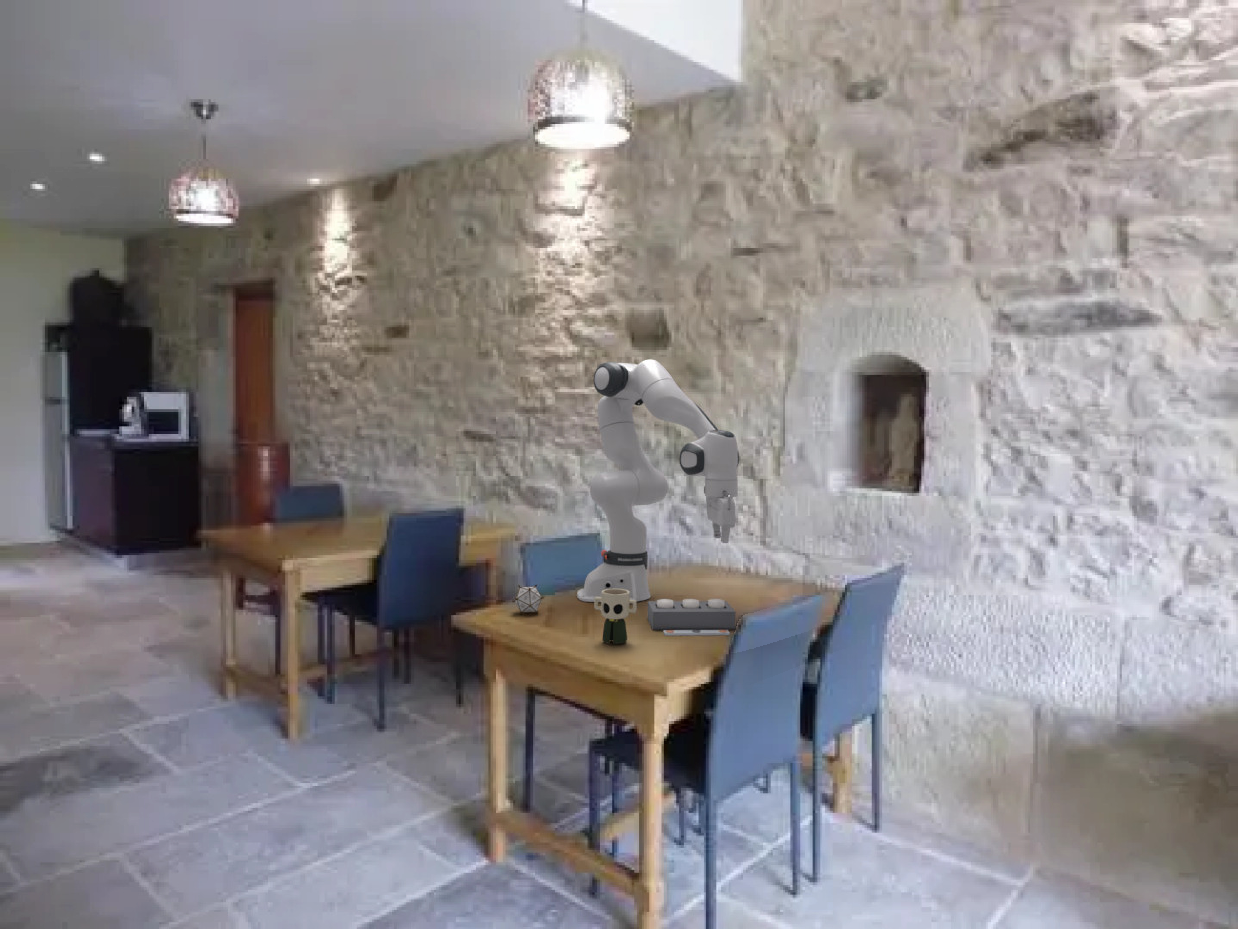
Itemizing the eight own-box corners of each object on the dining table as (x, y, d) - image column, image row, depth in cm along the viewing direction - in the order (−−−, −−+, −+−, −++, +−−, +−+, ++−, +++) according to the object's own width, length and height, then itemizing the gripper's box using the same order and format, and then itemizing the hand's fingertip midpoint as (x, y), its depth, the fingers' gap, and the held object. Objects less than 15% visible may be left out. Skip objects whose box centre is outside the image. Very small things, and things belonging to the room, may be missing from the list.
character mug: (589, 644, 222) (590, 592, 221) (597, 637, 229) (598, 586, 227) (632, 648, 219) (633, 596, 218) (639, 640, 226) (640, 590, 225)
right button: (709, 613, 240) (709, 602, 240) (706, 609, 245) (706, 598, 245) (725, 613, 241) (726, 602, 241) (722, 609, 245) (722, 598, 245)
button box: (652, 630, 236) (653, 611, 235) (647, 619, 247) (647, 601, 247) (735, 630, 238) (735, 611, 237) (725, 618, 249) (726, 601, 249)
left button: (658, 613, 239) (658, 602, 239) (655, 609, 244) (656, 599, 243) (674, 613, 240) (674, 602, 239) (671, 609, 244) (672, 599, 244)
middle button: (683, 613, 240) (684, 602, 240) (681, 609, 244) (681, 599, 244) (700, 613, 240) (700, 602, 240) (697, 609, 245) (697, 598, 244)
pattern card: (664, 635, 231) (664, 632, 231) (663, 632, 234) (663, 629, 234) (729, 635, 232) (729, 632, 232) (727, 632, 235) (727, 629, 235)
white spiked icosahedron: (520, 626, 252) (500, 597, 253) (542, 611, 257) (523, 582, 258) (533, 617, 245) (512, 587, 246) (555, 602, 250) (535, 572, 251)
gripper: (741, 493, 233) (741, 545, 234) (724, 486, 254) (724, 535, 254) (717, 493, 233) (717, 546, 233) (702, 486, 253) (702, 535, 254)
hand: (720, 540), depth 244 cm, fingers open, 8 cm apart
